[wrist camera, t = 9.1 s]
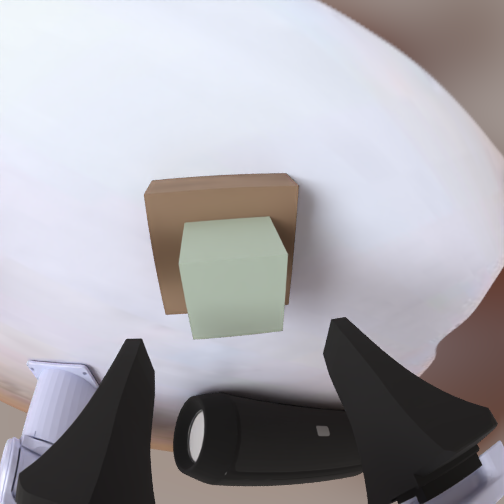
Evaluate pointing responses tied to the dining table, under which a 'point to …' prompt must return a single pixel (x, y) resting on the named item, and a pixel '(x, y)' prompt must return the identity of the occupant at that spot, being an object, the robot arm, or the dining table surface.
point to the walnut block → (214, 218)
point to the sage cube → (233, 277)
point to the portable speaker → (262, 442)
